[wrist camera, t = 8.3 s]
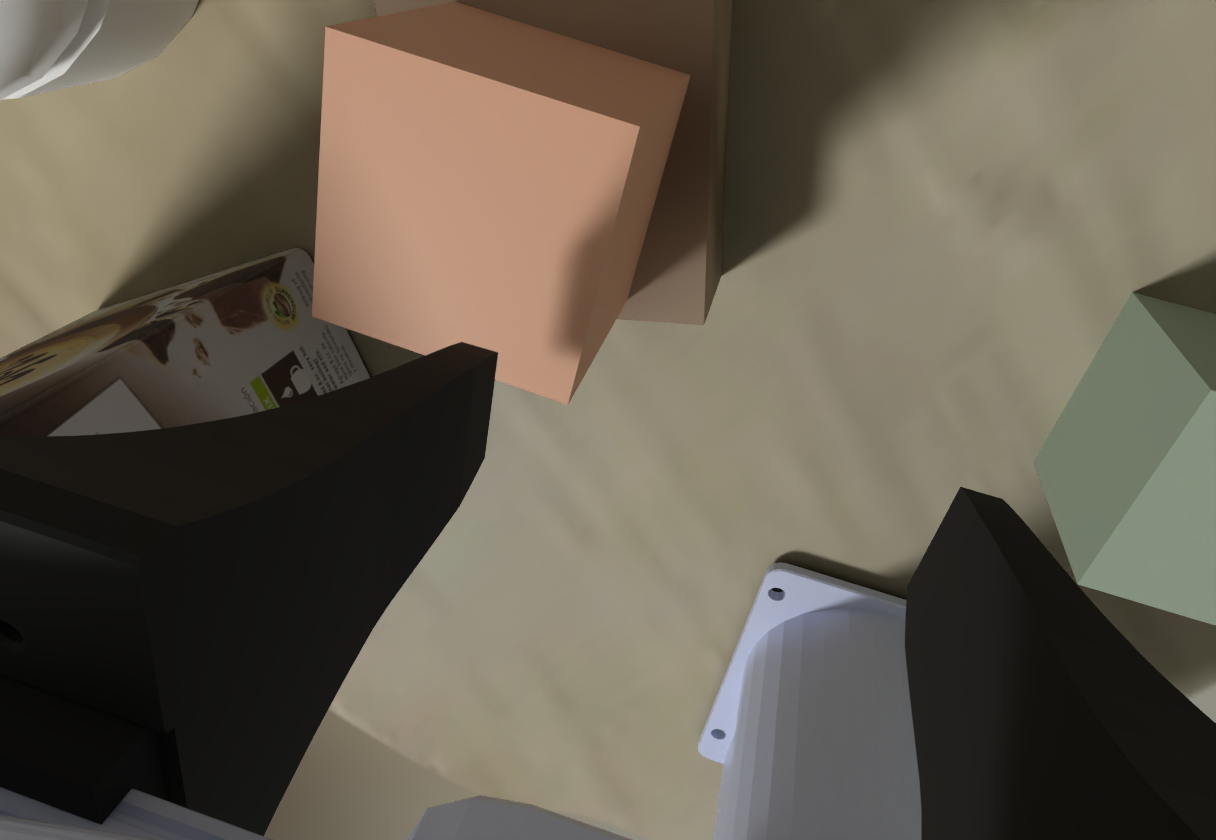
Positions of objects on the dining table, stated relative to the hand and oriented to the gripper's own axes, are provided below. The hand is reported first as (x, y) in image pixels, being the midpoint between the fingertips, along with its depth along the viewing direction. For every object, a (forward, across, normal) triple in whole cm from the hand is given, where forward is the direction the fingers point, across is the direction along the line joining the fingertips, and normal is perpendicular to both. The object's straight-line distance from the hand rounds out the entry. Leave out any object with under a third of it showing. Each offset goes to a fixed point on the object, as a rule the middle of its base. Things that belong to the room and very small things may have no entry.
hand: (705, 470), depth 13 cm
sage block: (+10, -11, +1) cm, 15 cm away
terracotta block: (+7, +5, -2) cm, 9 cm away
